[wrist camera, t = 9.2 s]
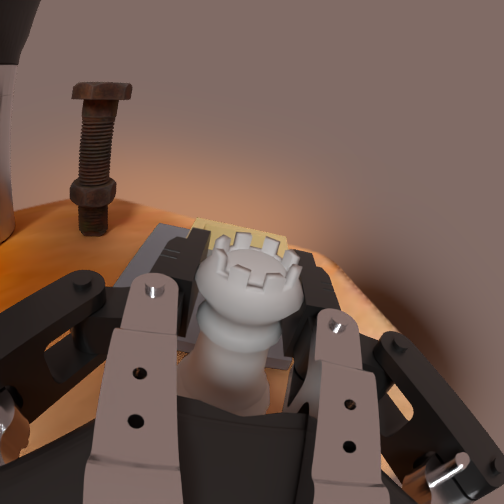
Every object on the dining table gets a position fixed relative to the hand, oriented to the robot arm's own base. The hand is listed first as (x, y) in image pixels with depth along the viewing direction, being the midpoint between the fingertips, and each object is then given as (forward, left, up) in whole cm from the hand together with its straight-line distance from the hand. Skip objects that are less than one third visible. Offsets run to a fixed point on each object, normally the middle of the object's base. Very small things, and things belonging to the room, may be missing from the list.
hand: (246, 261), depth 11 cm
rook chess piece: (0, -3, -6) cm, 7 cm away
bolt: (-15, +14, -9) cm, 22 cm away
